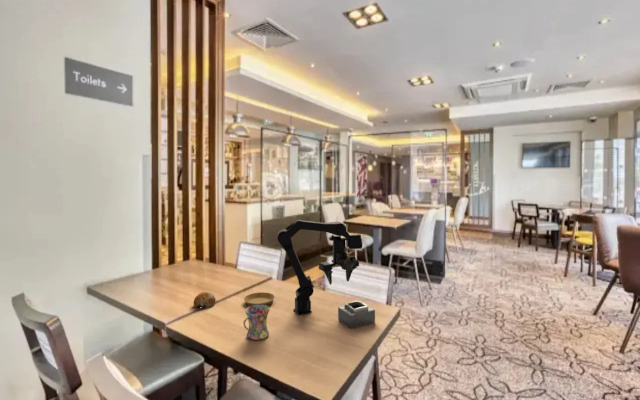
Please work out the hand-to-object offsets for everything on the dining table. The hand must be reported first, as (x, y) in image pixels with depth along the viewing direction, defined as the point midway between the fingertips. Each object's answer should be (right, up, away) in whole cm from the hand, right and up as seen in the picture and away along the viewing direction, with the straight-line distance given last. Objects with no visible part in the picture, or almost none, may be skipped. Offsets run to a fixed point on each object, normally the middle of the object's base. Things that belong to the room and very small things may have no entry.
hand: (339, 282), depth 151 cm
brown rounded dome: (-65, -13, +7) cm, 66 cm away
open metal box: (+7, -13, -11) cm, 19 cm away
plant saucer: (-39, -13, +10) cm, 42 cm away
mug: (-34, -15, -25) cm, 44 cm away
